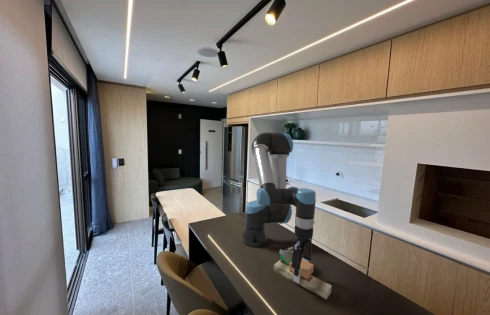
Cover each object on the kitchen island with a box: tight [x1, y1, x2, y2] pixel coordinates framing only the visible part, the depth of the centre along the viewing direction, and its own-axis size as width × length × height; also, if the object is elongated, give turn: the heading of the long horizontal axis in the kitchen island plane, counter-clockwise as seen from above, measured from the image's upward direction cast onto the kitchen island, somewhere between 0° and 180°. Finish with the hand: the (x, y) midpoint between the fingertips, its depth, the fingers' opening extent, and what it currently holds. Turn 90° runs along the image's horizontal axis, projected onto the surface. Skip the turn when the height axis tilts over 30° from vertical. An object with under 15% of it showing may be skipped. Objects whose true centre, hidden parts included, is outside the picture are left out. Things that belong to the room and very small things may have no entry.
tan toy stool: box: [289, 260, 315, 281], centre depth 86 cm, size 8×6×6 cm
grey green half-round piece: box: [278, 245, 301, 265], centre depth 95 cm, size 12×6×10 cm, turn 123°
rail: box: [273, 259, 333, 300], centre depth 86 cm, size 24×5×3 cm, turn 48°
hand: (300, 277), depth 86 cm, fingers closed on tan toy stool, 7 cm apart
